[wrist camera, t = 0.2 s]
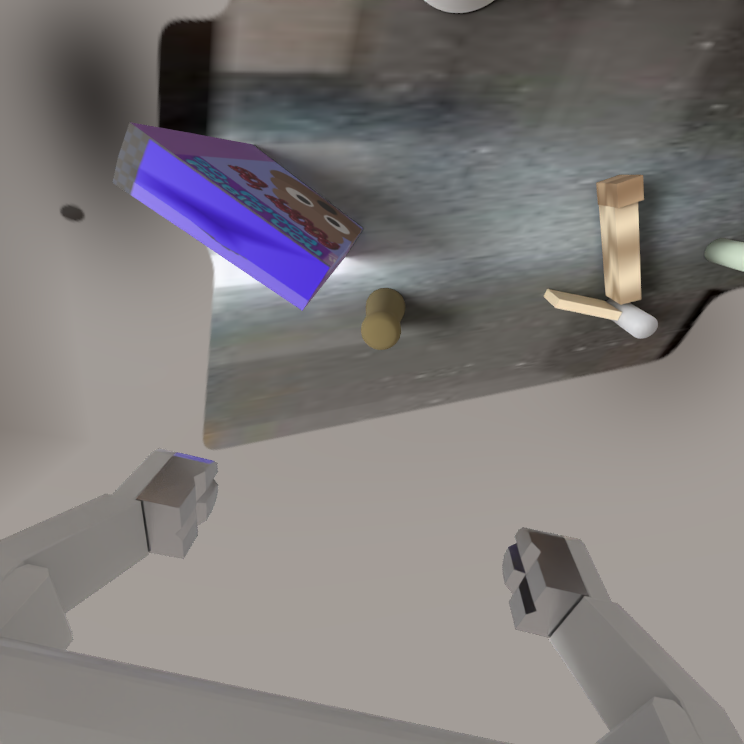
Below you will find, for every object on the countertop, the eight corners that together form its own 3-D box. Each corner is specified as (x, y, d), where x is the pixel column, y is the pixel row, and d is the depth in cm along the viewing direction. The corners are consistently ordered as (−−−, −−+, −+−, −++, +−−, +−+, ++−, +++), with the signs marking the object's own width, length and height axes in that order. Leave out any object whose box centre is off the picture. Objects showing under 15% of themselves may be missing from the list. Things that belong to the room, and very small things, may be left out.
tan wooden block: (625, 290, 51) (646, 301, 47) (605, 295, 52) (623, 307, 47) (619, 174, 45) (643, 174, 40) (596, 182, 46) (616, 183, 41)
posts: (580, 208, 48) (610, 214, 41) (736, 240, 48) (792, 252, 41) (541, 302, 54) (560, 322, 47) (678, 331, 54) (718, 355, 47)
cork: (373, 281, 55) (365, 305, 45) (411, 296, 55) (411, 322, 46) (360, 318, 58) (350, 347, 48) (396, 331, 58) (393, 363, 48)
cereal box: (363, 228, 51) (330, 266, 30) (345, 256, 53) (301, 311, 32) (252, 144, 48) (128, 122, 27) (237, 178, 50) (110, 182, 29)
